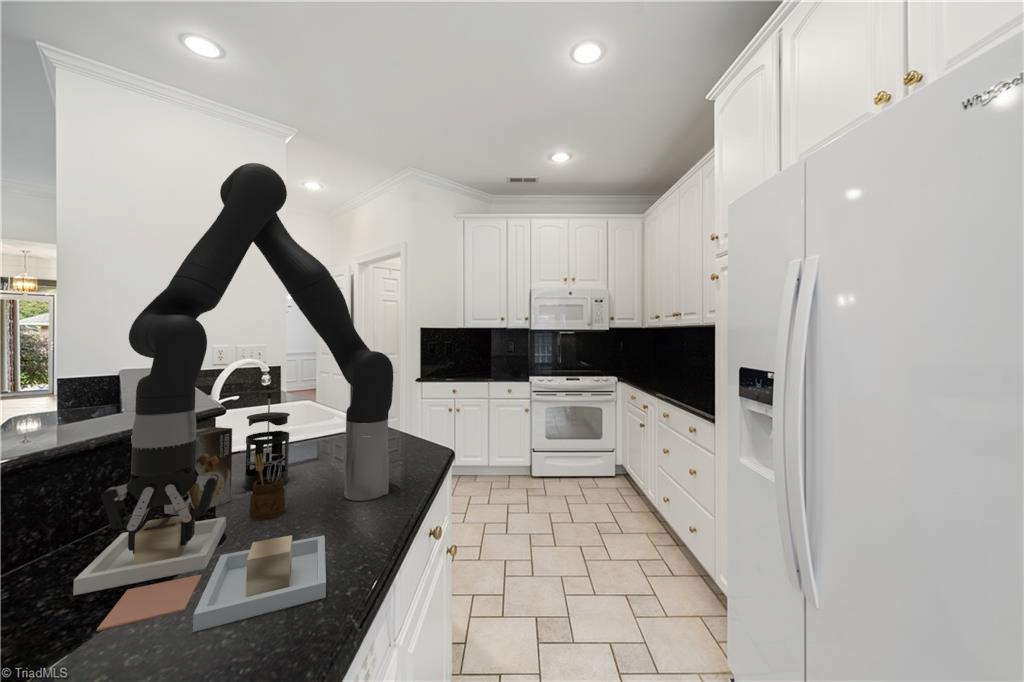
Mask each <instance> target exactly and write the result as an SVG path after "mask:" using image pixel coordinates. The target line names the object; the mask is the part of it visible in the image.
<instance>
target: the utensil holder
mask: <svg viewBox="0 0 1024 682" xmlns="http://www.w3.org/2000/svg"><path fill="white" fill-rule="evenodd" d="M253 457H254V458H255V465H254V467H255V466H256V471H259V472H260V479H261V480H258V481H256V482H255V483H254V484H253V491H251V494H250V502H249V518H250V519H251V520H254V521H264V520H270V519H273V518H276V517H279V516H281V515H282V514H284V512H285V511H286V489H285V487H284V486H285V485H284V482H283V479H282V478H280V477H270V478H264V479H263V477H262V470H263V469H264V466H265V465H264V464H263V458H262V454H260V457H261V464H260V458H259V454H258V455H257V457H258V464H257V458H256V455H255V454H254V456H253ZM272 464H273V463H272ZM274 464H275V462H274ZM278 464H280V463H278ZM268 468H269V467H268ZM274 469H276V467H274ZM281 469H282V467H281ZM270 470H271V467H270ZM270 470H269V471H270ZM279 472H280V471H279ZM279 472H278V474H279ZM267 473H268V472H267ZM273 474H274V475H275V473H273ZM280 475H281V474H280ZM278 476H279V475H278ZM268 477H269V475H268Z"/></svg>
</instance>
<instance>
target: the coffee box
mask: <svg viewBox="0 0 1024 682" xmlns="http://www.w3.org/2000/svg"><path fill="white" fill-rule="evenodd" d="M232 457H233V428H231V427H219V426H208V427H207V426H206V427H203V428H196V458H195V469H196V471H197V473H198V474H199V476H212V475H214V474H215V475H218V477H219V478H218V481H217V484H216V488H215V491H214V494H213V497H212V500H211V503H210V506H209V508H208V509H211V508H213V507H216V506H219V505H225V504H226V503H229V502H231V501H232V472H233V471H232V467H233V466H232V465H233V464H232V463H233V462H232V461H233V458H232ZM188 492H189V494H190V497H191V499H192V504H193V506H194V508H196V507H198V506H199V503H200V500H201V497H202V494H203V491H202V490H200V489H199V484H198V483H195V484H194V485H193V486H192V488H191V489H190V490H189V491H188ZM178 503H179V502H178ZM163 507H164V510H163V511H164V514H165V515H166V514H167V515H168V514H169V515H175V516H180V515H179V513H178V511H176V510H175V508H174V506H173V504H172V505H164V506H163Z"/></svg>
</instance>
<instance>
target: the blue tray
mask: <svg viewBox="0 0 1024 682" xmlns="http://www.w3.org/2000/svg"><path fill="white" fill-rule="evenodd" d="M325 542H326V541H325V535H320V536H319V535H318V536H313V537H309V538H303V539H299V540H294V541H293V540H292V567H291V576H290V585H289V587H287V588H283V589H279V590H275V591H270V592H266V593H262V594H258V595H254V596H250V597H246V575H247V558H248V555H249V552H250V549H247V550H246V549H245V550H241V551H235V552H230V553H226V554H225V553H224V554H220V556H219V559H218V560H217V563H216V565H215V567H214V569H213V571H212V574H211V575H210V577H209V580H208V582H207V585H206V586H205V589H204V591H203V593H202V595H201V597H200V600H199V602H198V603H197V606H196V608H195V610H194V612H193V616H192V617H193V618H192V620H193V621H192V633H196V632H199V631H203V630H207V629H210V628H215V627H218V626H219V627H220V626H222V625H226V624H230V623H234V622H237V621H241V620H245V619H248V618H249V619H250V618H253V617H257V616H260V615H264V614H269V613H271V612H276V611H280V610H283V609H284V610H285V609H287V608H292V607H296V606H298V605H303V604H307V603H311V602H314V601H318V600H322V599H326V597H327V596H326V595H327V592H326V591H327V588H326V587H327V574H326V573H327V571H326V570H327V569H326V546H325V545H326V543H325Z"/></svg>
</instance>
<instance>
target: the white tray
mask: <svg viewBox="0 0 1024 682" xmlns="http://www.w3.org/2000/svg"><path fill="white" fill-rule="evenodd" d="M226 527H227V516H225V517H216V518H211V519H204V520H203V519H202V520H199V521H195V529H194V530H195V531H194V535H193V537H192V538H191V540H190V541H188V543H187V546H186V547H185V549H184V550H183V552H182V553H181V555H180V557H177V558H171V559H166V560H161V561H155V562H150V563H144V564H139V565H134V554H133V551H129V549H128V534H129V532H122V533H120V534H119V536H118V537H116V538H115V539H114V540H113V541H112V543H111V544H110V545H108V546H106V548H105V549H104V550H103V551H102V552H101V553H100V554H99V555H98V556H97V557H96V558H95V559H94V560H93V561H92V562H91V563H89V564H88V565H87V567H86V568H84V569H83V571H82V572H80V573H79V574H78V576H76V577H75V578H74V579H73V592H72V593H73V594H72V595H73V596H77V595H82V594H87V593H91V592H92V593H93V592H97V591H102V590H107V589H112V588H116V587H122V586H127V585H131V584H137V583H141V582H146V581H147V582H148V581H151V580H157V579H162V578H166V577H171V576H172V577H173V576H176V575H180V574H186V573H191V572H197V571H201V570H206V569H207V566H208V565H209V562H210V560H211V558H212V556H213V555H214V552H215V551H216V549H217V547H218V545H219V542H221V539H222V536H223V535H224V533H225V531H226V529H227V528H226Z"/></svg>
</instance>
